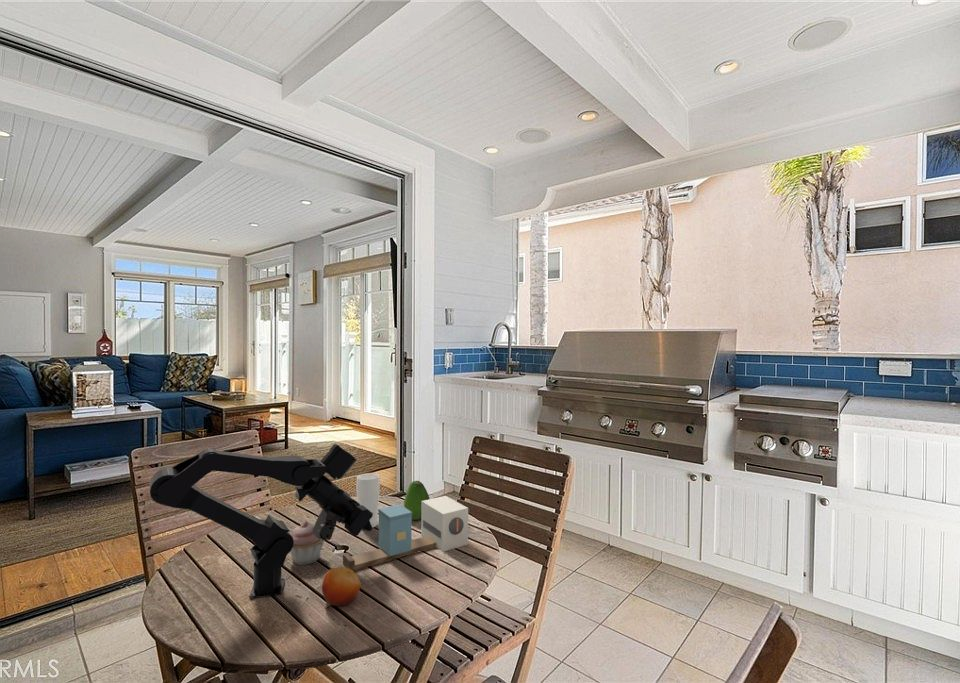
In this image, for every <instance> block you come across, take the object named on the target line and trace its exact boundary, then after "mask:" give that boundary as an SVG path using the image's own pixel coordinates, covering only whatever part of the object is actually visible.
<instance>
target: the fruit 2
mask: <svg viewBox="0 0 960 683" xmlns="http://www.w3.org/2000/svg"><path fill="white" fill-rule="evenodd" d="M429 495H430V494H429V493H428V491H427V488H426V487H425V485H424V483H422V482H421V481H420V480H413V481H411V483H409V486H408V488H407V491H406V494H405V498H404V500H403V507H405V508H406V509H408V510H409V511H411V512H412V520H414V521H418V520H421V501H424V500H429V499H431V498H430V496H429Z"/></svg>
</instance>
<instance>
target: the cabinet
mask: <svg viewBox="0 0 960 683" xmlns="http://www.w3.org/2000/svg"><path fill="white" fill-rule="evenodd" d="M420 521H421V522H420V524H421V525H420V526H421V528H420V534H421V535H420V537H421V538H422V537H426V536H428V537H429V538H431V539H432V540H433V541H435V542H436V547H435V548H436V549H437V548H438V549H439V550H440V551H441V552H443V553H444V552H447V551H450V550H452V549H457V548H460V547H464V546H467V545H469V507H467V506H465V505H463V504H461V503H460V502H458V501H456V500H454V499H452V498H451V497H448V496H447V495H444V496H439V497H435V498H430V499H429V500H424V501H421V519H420Z"/></svg>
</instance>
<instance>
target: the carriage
mask: <svg viewBox="0 0 960 683" xmlns="http://www.w3.org/2000/svg"><path fill="white" fill-rule="evenodd" d="M377 514H378V547H379V549H382V550H384V551H385V552H386V553H387V554H388V555H389V556H393V555H396V554H400V553H403V552H407V551H410V550H411V540H412V512H411V511H409V510H408V509H406V508H405V507H404V505H402V504H401V503H399V504H395V505H390V506H385V507H381V508H378V513H377Z"/></svg>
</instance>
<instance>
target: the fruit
mask: <svg viewBox="0 0 960 683" xmlns="http://www.w3.org/2000/svg"><path fill="white" fill-rule="evenodd" d="M354 571H355V570H354ZM354 571H352V570H351V569H348V568H346V567H345V566H338V567H333V568H330V569H329V570H328V571H327V572H326V574H325V575H324V577H323V581H322V584H321V592H322V594H323V596H324V601H325V604H326V606H325V607H324V610H326V609H327V608H328V607H330V606H336V607H342V606H349V605H350V604H351V603H352V602H353V601H354V600H355V599H356V597H357V595H358V593H359V592H360V590H361V589H360V588H361V586H362V582H361V581H360V578H359V576H358V575H357V574H358V573H356V572H354Z"/></svg>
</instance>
